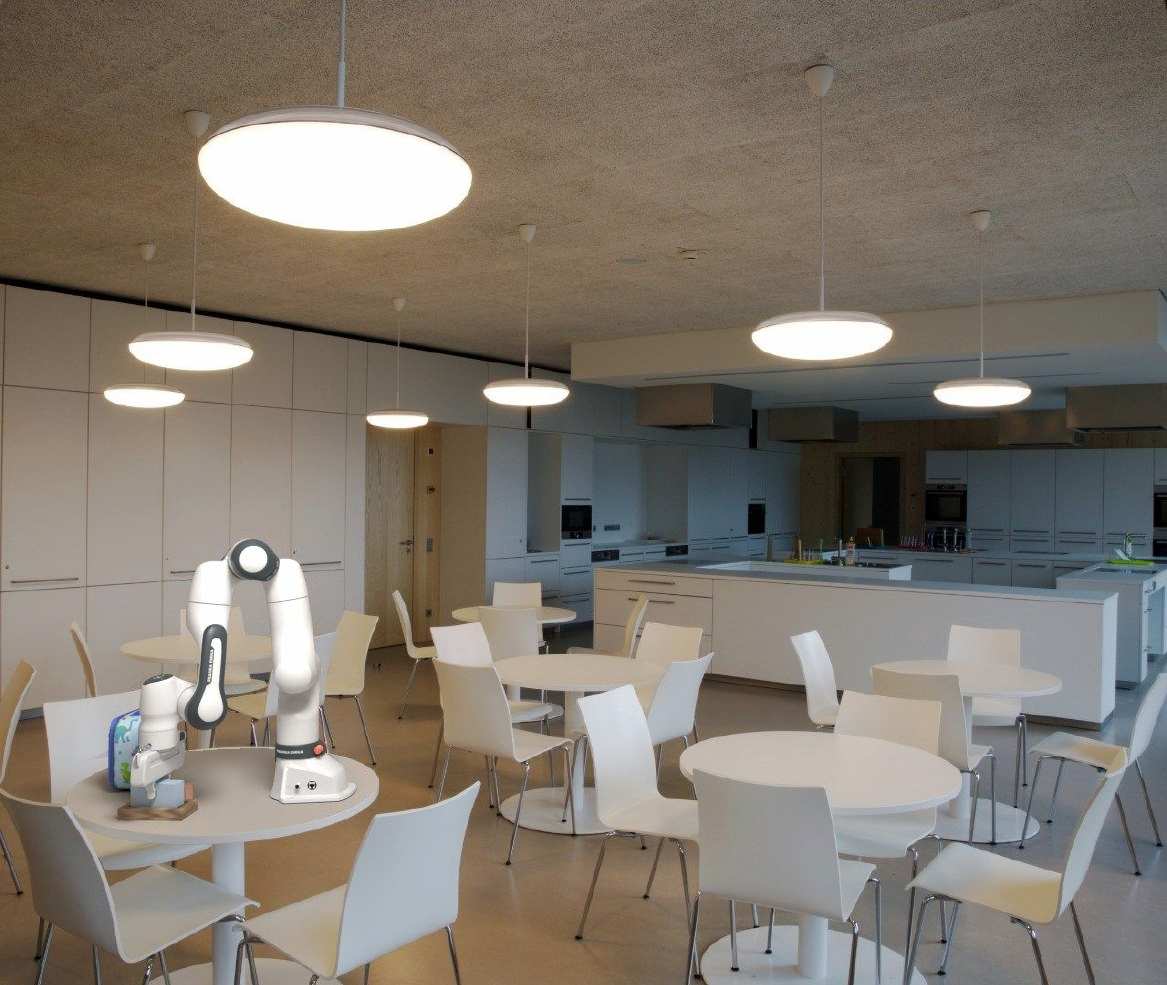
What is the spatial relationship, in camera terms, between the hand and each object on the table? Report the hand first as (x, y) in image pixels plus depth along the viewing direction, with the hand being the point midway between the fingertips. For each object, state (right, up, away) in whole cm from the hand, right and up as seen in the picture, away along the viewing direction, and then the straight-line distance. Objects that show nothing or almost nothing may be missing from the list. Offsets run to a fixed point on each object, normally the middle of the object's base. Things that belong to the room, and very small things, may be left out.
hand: (158, 794), depth 236 cm
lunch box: (-18, -6, +30) cm, 35 cm away
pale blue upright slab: (0, -3, 0) cm, 3 cm away
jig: (0, -5, 0) cm, 5 cm away
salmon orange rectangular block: (-2, -5, +10) cm, 12 cm away
